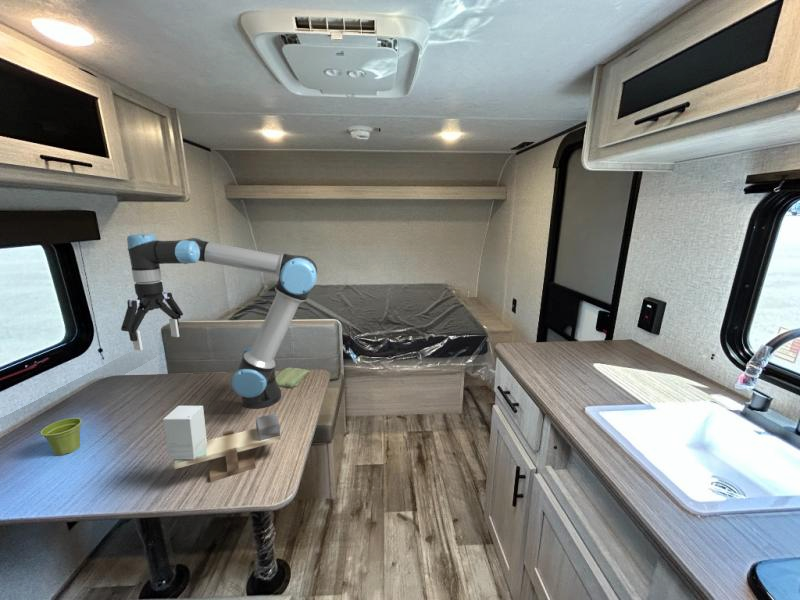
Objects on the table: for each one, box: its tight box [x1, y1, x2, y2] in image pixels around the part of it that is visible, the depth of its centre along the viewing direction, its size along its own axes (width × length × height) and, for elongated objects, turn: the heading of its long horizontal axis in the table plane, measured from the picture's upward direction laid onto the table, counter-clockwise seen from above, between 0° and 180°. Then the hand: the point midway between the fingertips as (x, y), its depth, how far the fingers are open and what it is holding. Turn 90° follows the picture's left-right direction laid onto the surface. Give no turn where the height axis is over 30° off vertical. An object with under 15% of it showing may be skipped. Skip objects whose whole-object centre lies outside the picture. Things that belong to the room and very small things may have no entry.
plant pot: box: [40, 417, 83, 456], centre depth 110 cm, size 9×9×9 cm
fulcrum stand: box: [208, 429, 256, 483], centre depth 104 cm, size 12×11×8 cm
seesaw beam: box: [173, 413, 282, 470], centre depth 103 cm, size 28×8×6 cm, turn 120°
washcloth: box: [275, 367, 310, 389], centre depth 161 cm, size 13×18×3 cm
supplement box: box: [162, 405, 208, 461], centre depth 97 cm, size 7×7×13 cm
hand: (158, 342), depth 117 cm, fingers open, 13 cm apart
